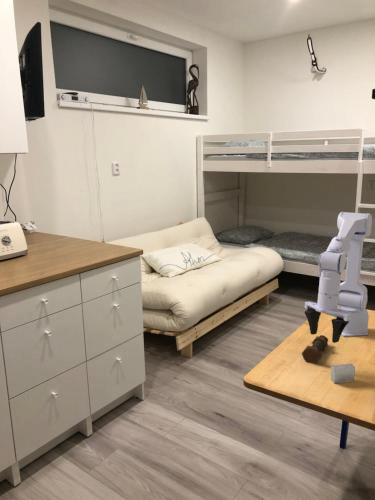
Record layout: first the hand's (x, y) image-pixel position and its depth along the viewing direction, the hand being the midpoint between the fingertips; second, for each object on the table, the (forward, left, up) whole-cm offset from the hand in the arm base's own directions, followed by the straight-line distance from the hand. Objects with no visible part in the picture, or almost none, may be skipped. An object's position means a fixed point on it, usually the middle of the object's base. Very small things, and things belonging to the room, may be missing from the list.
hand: (324, 337), depth 121 cm
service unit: (-2, +8, -10) cm, 13 cm away
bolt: (-3, -9, -10) cm, 14 cm away
